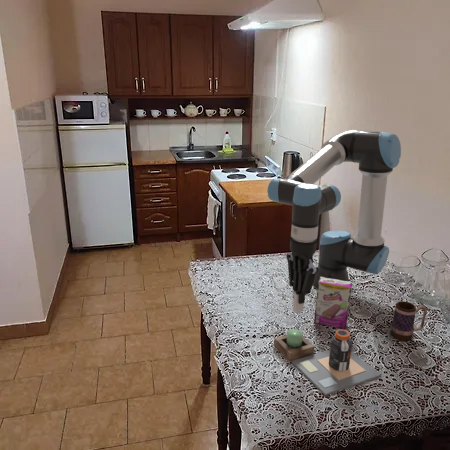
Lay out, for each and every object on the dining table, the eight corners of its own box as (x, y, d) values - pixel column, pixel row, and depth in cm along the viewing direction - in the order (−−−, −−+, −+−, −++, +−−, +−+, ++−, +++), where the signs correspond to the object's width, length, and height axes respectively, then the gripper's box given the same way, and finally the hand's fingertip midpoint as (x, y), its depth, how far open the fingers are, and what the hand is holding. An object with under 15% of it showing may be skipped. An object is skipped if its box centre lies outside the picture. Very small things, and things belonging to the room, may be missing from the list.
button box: (297, 339, 141) (297, 331, 140) (313, 354, 133) (314, 346, 132) (273, 346, 137) (274, 338, 136) (289, 361, 130) (290, 353, 129)
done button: (296, 338, 138) (296, 327, 136) (304, 346, 134) (305, 335, 132) (283, 342, 136) (284, 331, 134) (291, 350, 132) (292, 339, 130)
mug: (391, 340, 141) (396, 308, 138) (388, 329, 148) (393, 298, 144) (424, 344, 139) (430, 312, 136) (419, 333, 146) (425, 301, 142)
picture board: (343, 346, 138) (344, 344, 137) (380, 376, 124) (381, 373, 124) (291, 362, 129) (292, 360, 129) (325, 395, 116) (325, 393, 115)
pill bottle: (349, 373, 124) (354, 339, 120) (328, 370, 125) (332, 337, 121) (348, 361, 129) (352, 328, 126) (328, 358, 130) (331, 325, 127)
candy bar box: (313, 324, 150) (317, 281, 145) (315, 317, 155) (319, 276, 150) (346, 330, 147) (351, 287, 142) (347, 323, 151) (352, 281, 146)
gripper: (280, 233, 127) (275, 303, 135) (306, 247, 116) (300, 324, 123) (301, 229, 130) (295, 299, 138) (328, 243, 119) (321, 318, 127)
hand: (297, 310), depth 131 cm, fingers closed
